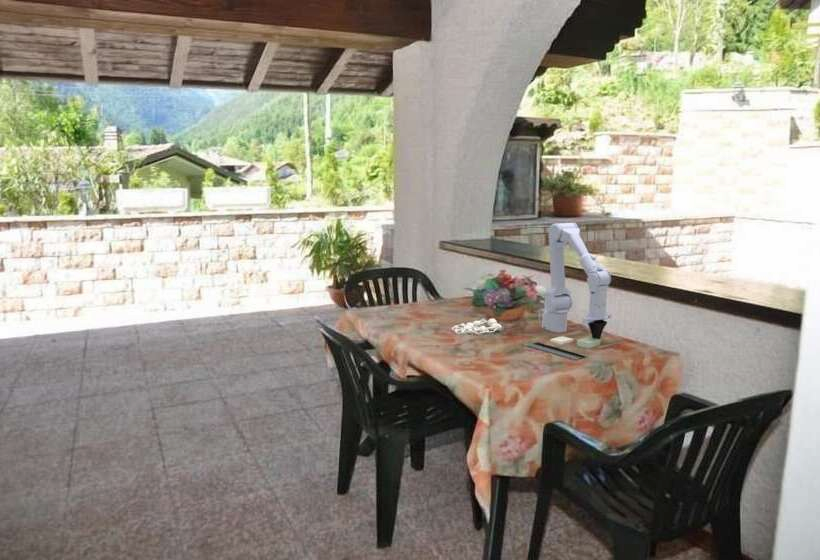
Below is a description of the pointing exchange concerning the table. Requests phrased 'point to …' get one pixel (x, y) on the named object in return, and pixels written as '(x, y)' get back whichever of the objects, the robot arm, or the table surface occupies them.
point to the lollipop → (541, 293)
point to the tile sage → (588, 342)
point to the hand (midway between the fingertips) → (596, 340)
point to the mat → (556, 351)
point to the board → (580, 334)
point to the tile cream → (561, 340)
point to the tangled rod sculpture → (475, 326)
